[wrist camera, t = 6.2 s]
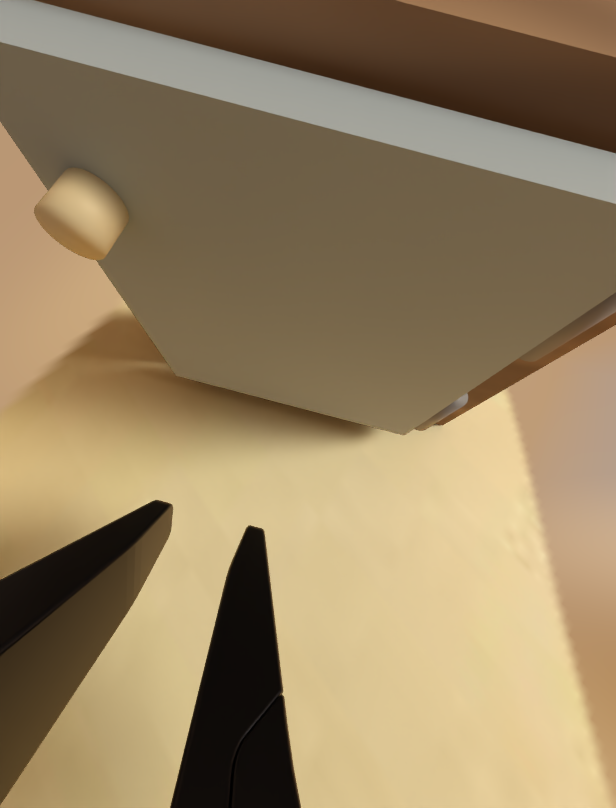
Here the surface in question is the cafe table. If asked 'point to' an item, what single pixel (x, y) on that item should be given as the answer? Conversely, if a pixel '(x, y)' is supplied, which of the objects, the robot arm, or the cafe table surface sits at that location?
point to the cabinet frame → (426, 67)
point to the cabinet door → (306, 218)
